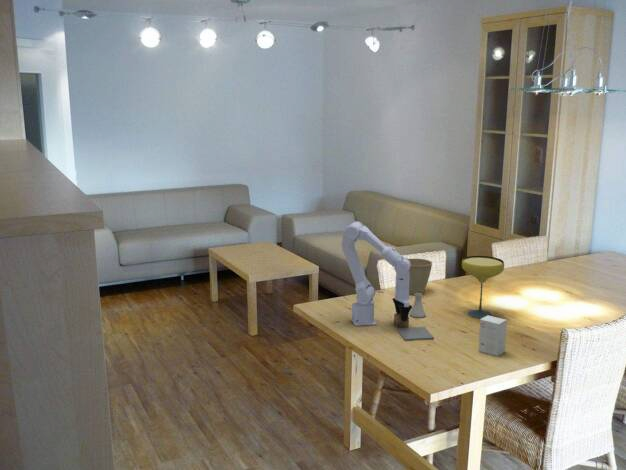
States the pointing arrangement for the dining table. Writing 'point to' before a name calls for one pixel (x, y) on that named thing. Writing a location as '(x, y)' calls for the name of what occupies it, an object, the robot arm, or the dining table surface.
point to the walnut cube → (400, 322)
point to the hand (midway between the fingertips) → (401, 317)
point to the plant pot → (419, 275)
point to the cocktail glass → (482, 275)
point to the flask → (417, 307)
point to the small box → (492, 335)
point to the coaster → (415, 333)
